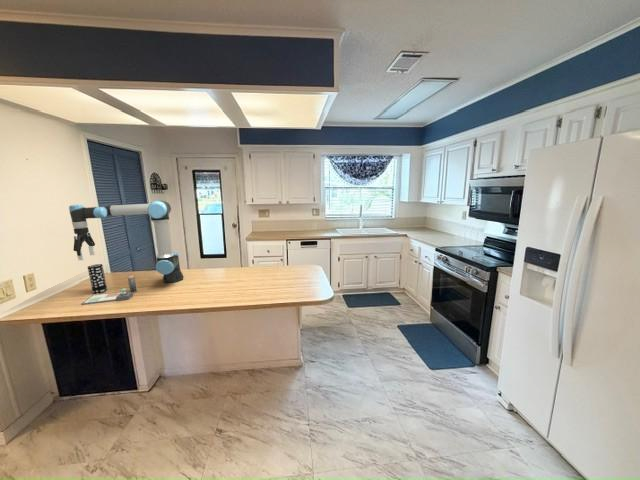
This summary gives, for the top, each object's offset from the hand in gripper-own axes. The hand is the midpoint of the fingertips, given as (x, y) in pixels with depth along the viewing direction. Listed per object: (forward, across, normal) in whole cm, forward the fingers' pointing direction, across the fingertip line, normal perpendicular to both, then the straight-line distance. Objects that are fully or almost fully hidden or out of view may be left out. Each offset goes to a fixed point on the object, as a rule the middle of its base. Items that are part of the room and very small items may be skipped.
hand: (87, 257), depth 187 cm
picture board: (+28, +11, +11) cm, 32 cm away
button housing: (+28, +15, +25) cm, 40 cm away
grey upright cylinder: (+28, +2, +26) cm, 38 cm away
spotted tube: (+28, -4, +1) cm, 28 cm away
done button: (+25, +15, +25) cm, 39 cm away
